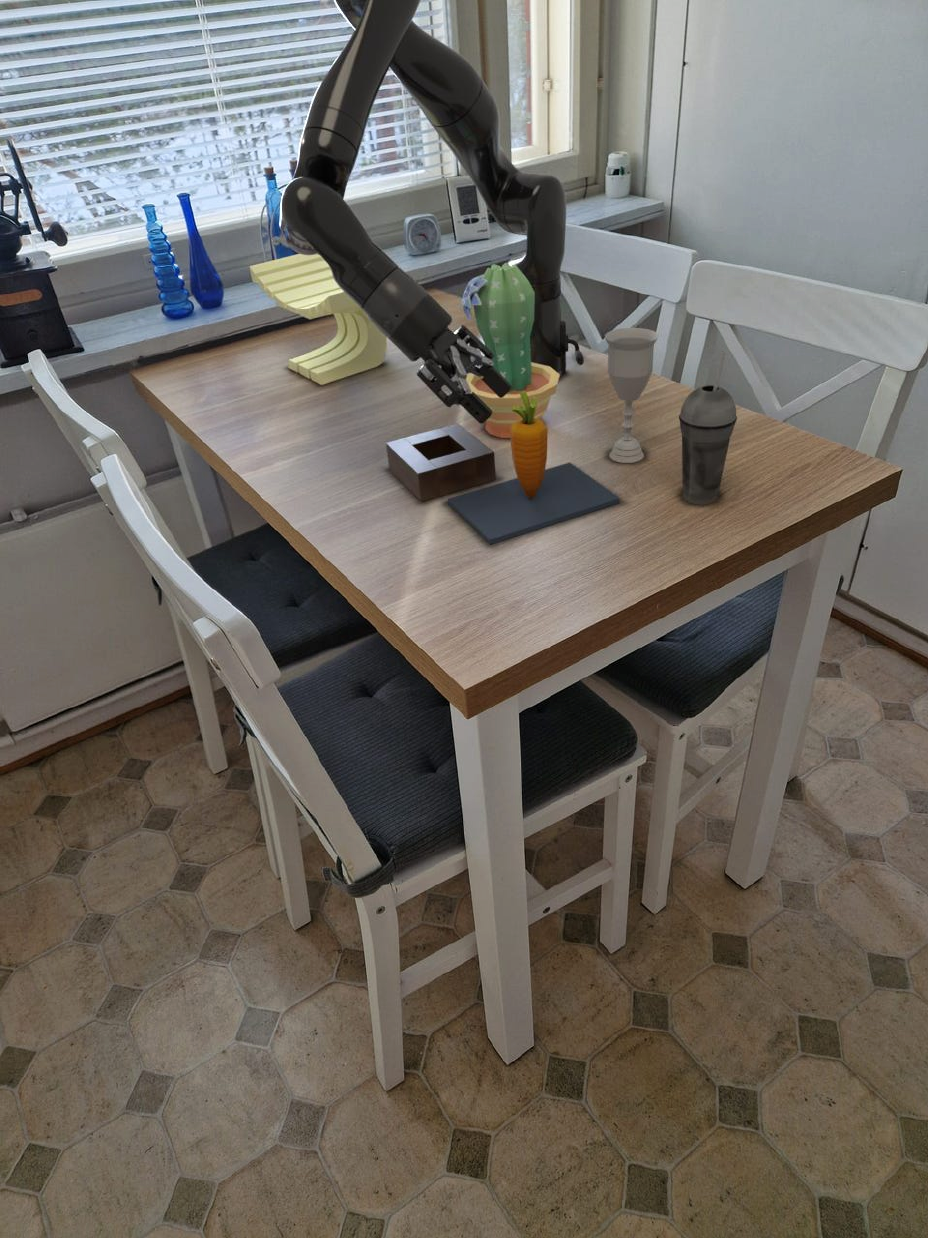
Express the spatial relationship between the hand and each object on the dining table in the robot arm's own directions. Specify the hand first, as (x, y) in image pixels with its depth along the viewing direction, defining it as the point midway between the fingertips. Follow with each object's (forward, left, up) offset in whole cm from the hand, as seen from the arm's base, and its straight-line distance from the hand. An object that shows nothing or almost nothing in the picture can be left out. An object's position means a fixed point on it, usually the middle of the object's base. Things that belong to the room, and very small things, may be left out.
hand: (497, 405), depth 115 cm
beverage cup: (-23, +14, -14) cm, 31 cm away
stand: (+4, -12, -14) cm, 19 cm away
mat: (-3, +3, -14) cm, 15 cm away
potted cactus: (-13, -21, -14) cm, 28 cm away
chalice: (-22, -2, -14) cm, 26 cm away
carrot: (-3, +3, -13) cm, 14 cm away
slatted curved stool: (+1, -66, -14) cm, 67 cm away
